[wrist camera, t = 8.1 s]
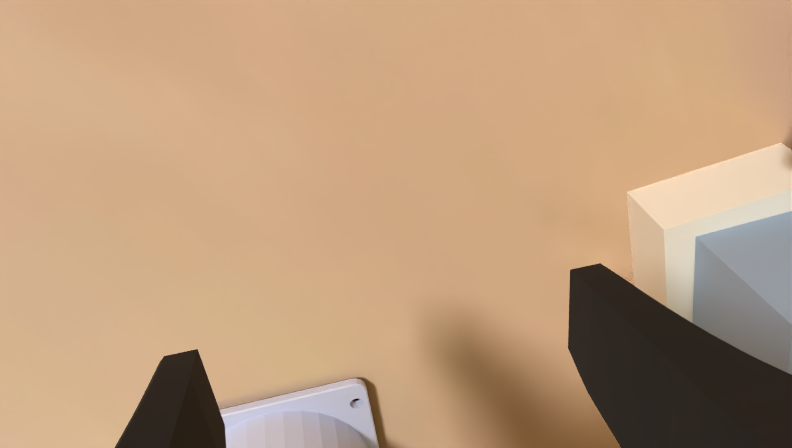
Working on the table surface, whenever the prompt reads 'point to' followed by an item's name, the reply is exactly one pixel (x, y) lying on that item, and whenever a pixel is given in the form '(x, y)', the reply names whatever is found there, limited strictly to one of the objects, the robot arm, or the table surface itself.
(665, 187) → the foundation slab
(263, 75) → the table surface
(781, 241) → the blue block
